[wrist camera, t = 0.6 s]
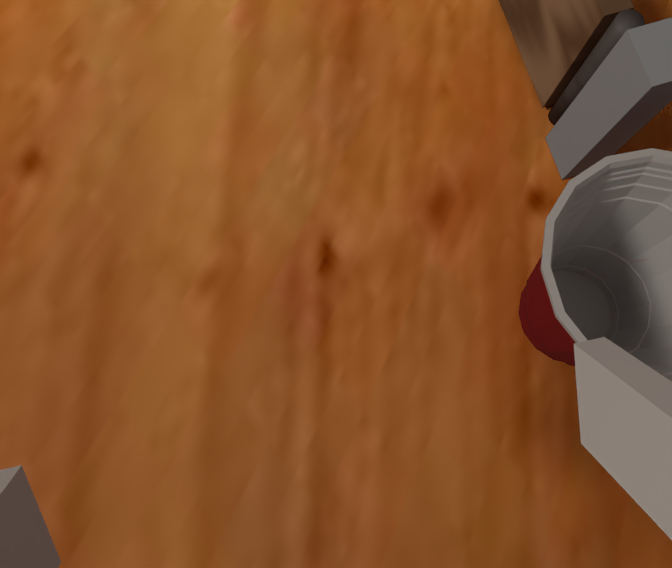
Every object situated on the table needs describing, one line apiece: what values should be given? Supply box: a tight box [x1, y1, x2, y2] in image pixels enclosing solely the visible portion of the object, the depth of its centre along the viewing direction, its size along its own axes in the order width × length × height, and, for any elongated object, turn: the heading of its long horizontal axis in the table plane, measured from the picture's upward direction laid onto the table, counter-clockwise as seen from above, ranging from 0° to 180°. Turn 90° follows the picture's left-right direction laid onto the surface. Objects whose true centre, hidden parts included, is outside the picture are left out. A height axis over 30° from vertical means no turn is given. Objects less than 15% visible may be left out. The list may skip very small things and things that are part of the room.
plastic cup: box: [519, 148, 672, 382], centre depth 29 cm, size 11×11×12 cm
